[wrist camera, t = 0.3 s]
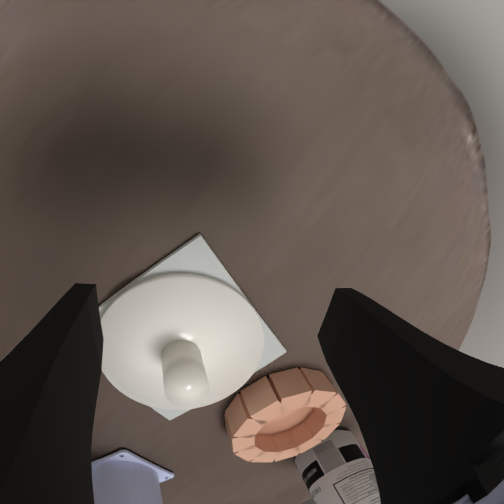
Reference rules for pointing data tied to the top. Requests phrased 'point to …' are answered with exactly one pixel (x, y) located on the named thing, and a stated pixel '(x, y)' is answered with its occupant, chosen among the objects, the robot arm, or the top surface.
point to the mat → (206, 263)
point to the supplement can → (339, 471)
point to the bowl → (283, 415)
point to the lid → (180, 341)
